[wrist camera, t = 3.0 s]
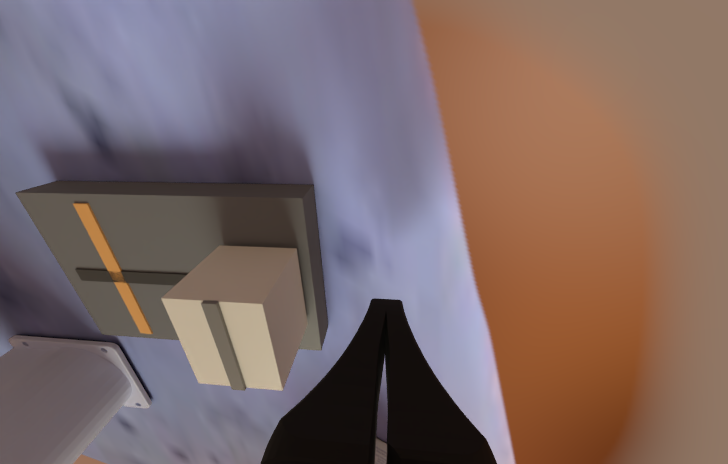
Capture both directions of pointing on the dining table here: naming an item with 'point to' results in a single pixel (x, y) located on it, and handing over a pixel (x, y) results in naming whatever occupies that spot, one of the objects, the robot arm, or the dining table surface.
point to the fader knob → (241, 316)
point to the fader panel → (169, 243)
